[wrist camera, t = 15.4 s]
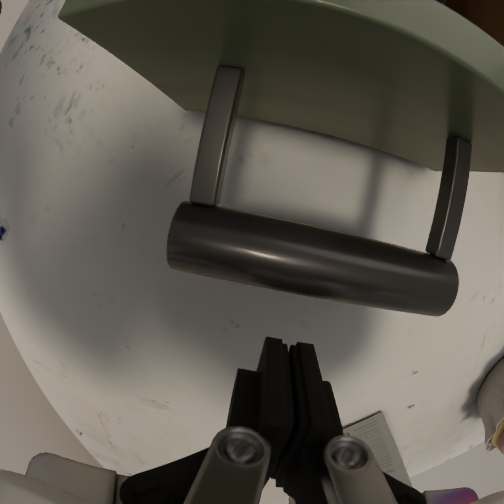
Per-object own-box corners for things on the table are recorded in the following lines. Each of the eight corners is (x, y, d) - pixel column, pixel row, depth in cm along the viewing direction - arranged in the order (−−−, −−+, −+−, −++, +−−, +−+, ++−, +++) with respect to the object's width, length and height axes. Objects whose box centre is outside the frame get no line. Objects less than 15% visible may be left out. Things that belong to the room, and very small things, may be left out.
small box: (305, 439, 16) (316, 573, 5) (382, 408, 15) (430, 538, 4) (338, 478, 17) (352, 574, 7) (398, 454, 16) (429, 548, 6)
